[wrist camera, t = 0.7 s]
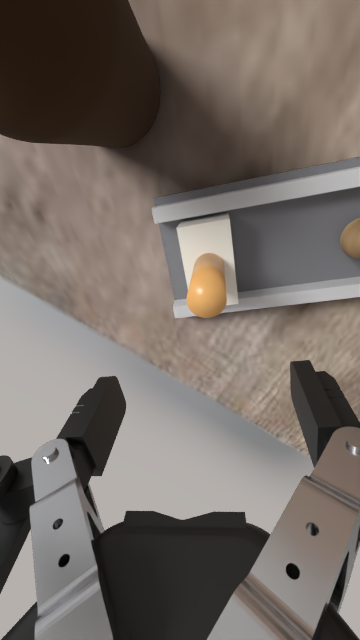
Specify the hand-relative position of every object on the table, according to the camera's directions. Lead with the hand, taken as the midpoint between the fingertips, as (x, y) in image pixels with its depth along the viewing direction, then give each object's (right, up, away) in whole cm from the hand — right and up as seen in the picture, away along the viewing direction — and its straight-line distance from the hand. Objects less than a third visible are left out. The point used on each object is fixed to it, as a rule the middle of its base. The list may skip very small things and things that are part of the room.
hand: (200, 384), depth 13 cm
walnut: (+17, +12, +16) cm, 26 cm away
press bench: (+10, +12, +19) cm, 24 cm away
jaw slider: (+2, +10, +19) cm, 21 cm away
